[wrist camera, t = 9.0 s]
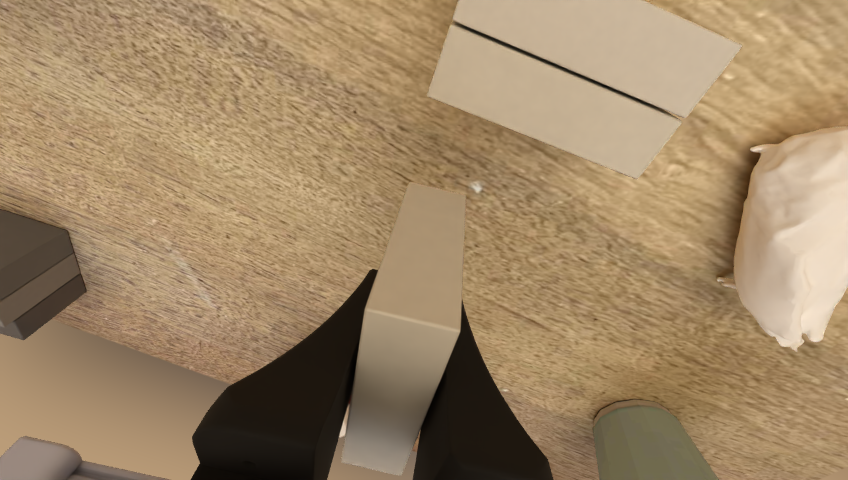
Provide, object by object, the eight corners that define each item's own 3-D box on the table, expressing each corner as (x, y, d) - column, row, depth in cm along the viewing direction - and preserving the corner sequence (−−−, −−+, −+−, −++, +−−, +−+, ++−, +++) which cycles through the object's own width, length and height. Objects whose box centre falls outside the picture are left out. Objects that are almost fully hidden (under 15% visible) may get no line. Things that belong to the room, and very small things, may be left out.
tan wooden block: (423, 332, 18) (401, 476, 13) (380, 322, 18) (340, 463, 13) (467, 194, 13) (461, 331, 8) (408, 180, 13) (364, 309, 8)
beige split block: (440, 63, 17) (425, 96, 12) (480, -51, 15) (482, -74, 9) (589, 124, 18) (637, 180, 13) (651, 25, 15) (744, 45, 10)
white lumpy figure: (805, 247, 22) (898, 98, 15) (864, 355, 18) (1029, 220, 11) (705, 251, 24) (746, 122, 17) (737, 349, 20) (808, 232, 13)
